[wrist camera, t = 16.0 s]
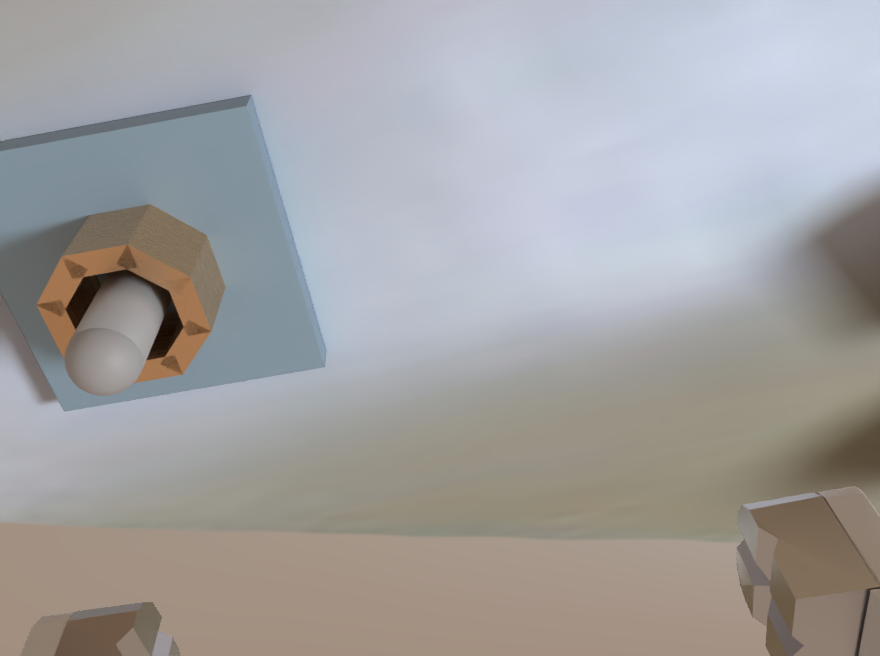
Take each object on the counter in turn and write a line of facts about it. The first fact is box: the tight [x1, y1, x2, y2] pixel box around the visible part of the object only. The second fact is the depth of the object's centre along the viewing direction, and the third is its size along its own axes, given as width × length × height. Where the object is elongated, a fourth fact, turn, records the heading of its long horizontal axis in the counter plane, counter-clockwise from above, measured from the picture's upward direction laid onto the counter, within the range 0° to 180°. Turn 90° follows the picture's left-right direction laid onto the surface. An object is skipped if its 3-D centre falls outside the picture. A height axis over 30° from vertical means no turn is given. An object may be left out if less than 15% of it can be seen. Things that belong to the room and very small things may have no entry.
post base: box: [0, 95, 326, 412], centre depth 37 cm, size 14×14×10 cm
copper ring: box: [36, 204, 226, 383], centre depth 38 cm, size 7×7×4 cm
